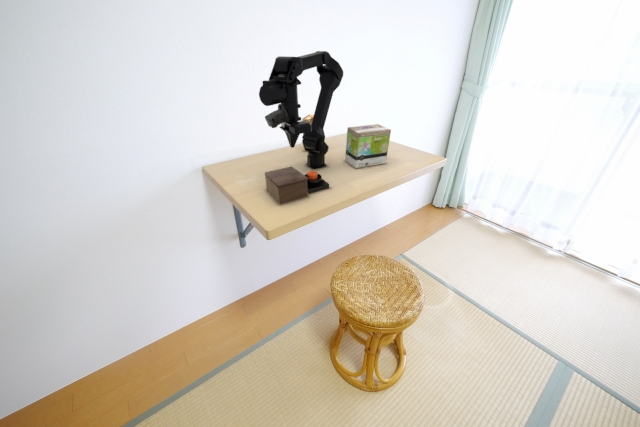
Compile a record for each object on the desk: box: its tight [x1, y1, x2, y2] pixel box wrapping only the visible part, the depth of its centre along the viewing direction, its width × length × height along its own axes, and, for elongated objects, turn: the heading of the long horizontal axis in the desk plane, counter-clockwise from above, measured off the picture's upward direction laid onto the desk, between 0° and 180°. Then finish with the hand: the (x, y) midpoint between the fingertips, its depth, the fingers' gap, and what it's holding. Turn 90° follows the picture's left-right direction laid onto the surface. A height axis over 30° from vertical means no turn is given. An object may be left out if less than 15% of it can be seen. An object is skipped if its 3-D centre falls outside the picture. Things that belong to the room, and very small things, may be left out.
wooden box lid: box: [264, 165, 308, 187], centre depth 86 cm, size 12×10×1 cm
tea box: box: [344, 123, 392, 169], centre depth 109 cm, size 15×10×15 cm
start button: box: [306, 170, 318, 179], centre depth 92 cm, size 4×4×2 cm
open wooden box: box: [264, 174, 309, 205], centre depth 88 cm, size 12×10×6 cm
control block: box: [303, 173, 330, 195], centre depth 93 cm, size 10×8×4 cm
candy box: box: [301, 114, 314, 152], centre depth 124 cm, size 9×4×15 cm, turn 162°
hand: (292, 147), depth 94 cm, fingers closed
